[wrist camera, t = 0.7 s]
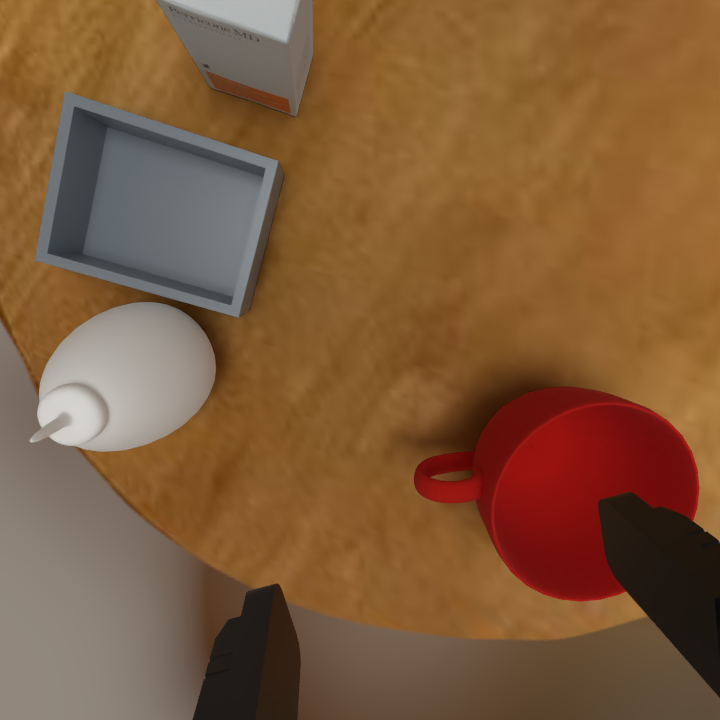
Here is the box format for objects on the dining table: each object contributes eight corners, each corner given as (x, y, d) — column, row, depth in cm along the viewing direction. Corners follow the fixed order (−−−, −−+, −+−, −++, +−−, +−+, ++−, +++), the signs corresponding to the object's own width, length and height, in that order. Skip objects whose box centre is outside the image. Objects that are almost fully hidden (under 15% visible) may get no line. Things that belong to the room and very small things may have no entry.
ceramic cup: (404, 358, 37) (434, 394, 27) (619, 368, 38) (721, 405, 29) (391, 517, 39) (414, 602, 30) (593, 520, 41) (679, 602, 31)
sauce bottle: (156, 421, 36) (3, 574, 19) (94, 329, 35) (-137, 401, 17) (249, 371, 36) (183, 478, 19) (192, 275, 34) (59, 293, 17)
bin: (103, 116, 32) (64, 91, 27) (284, 175, 34) (278, 161, 29) (76, 260, 34) (34, 260, 29) (249, 309, 35) (238, 317, 30)
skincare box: (208, 90, 32) (145, -6, 21) (224, 20, 32) (168, -120, 20) (299, 121, 33) (288, 45, 21) (316, 54, 32) (314, -62, 21)
